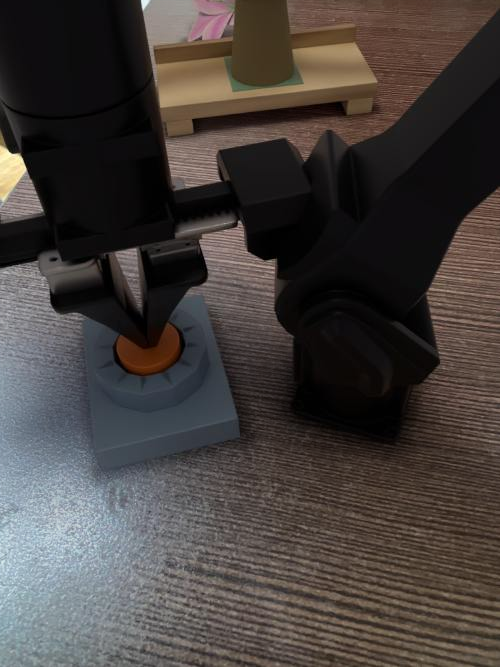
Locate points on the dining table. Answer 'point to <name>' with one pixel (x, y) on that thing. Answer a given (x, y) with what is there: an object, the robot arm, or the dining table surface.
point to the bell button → (150, 354)
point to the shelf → (234, 97)
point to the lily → (212, 18)
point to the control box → (159, 394)
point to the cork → (261, 43)
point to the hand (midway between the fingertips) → (148, 342)
